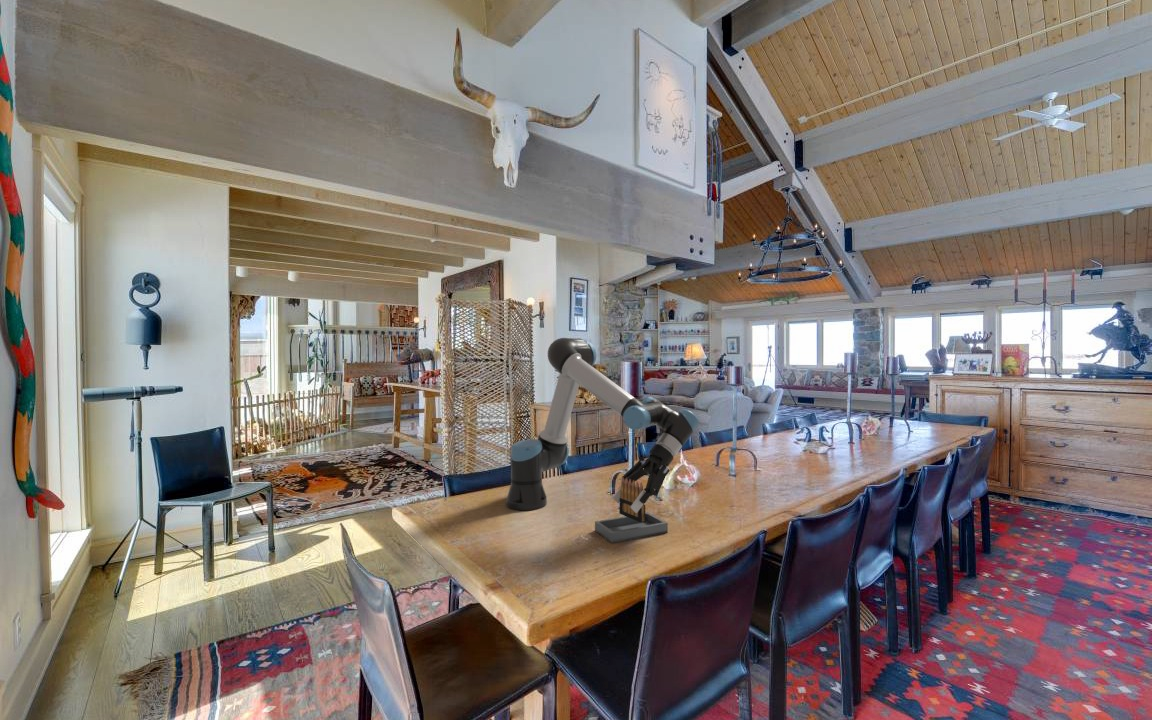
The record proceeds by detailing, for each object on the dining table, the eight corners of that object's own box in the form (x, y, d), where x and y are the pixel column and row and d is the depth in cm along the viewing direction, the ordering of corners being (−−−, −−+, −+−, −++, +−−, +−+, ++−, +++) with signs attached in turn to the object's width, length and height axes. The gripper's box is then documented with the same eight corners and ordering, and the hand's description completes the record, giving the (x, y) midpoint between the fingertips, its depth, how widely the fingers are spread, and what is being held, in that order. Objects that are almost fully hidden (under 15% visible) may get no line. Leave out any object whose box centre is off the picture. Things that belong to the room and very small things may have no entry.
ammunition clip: (619, 513, 148) (618, 476, 148) (623, 512, 149) (623, 475, 149) (641, 522, 140) (641, 483, 140) (646, 521, 141) (645, 482, 141)
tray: (594, 530, 145) (594, 521, 145) (648, 521, 154) (647, 512, 154) (611, 543, 135) (611, 533, 135) (667, 532, 144) (667, 522, 144)
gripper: (694, 464, 141) (651, 524, 134) (651, 451, 161) (613, 502, 155) (680, 449, 138) (636, 508, 132) (638, 437, 159) (599, 488, 153)
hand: (623, 505), depth 143 cm, fingers closed on ammunition clip, 10 cm apart
